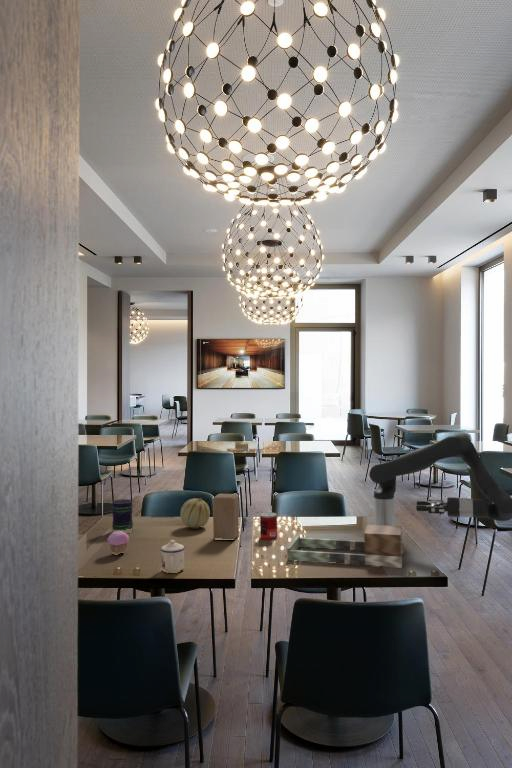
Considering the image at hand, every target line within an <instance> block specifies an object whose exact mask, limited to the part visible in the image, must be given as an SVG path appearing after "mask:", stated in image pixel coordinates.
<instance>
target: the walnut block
mask: <svg viewBox="0 0 512 768" xmlns="http://www.w3.org/2000/svg"><path fill="white" fill-rule="evenodd" d="M363 535H364V537H363V538H364V540H363V541H364V543H365V551H364V554H365V555H382V556H399V557H402V558H403V553H402V543H403V542H402V541H403V540H402V539H403V538H402V525H396V526H384V525H374V524H366V527H365V530H364V533H363Z"/></svg>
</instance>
